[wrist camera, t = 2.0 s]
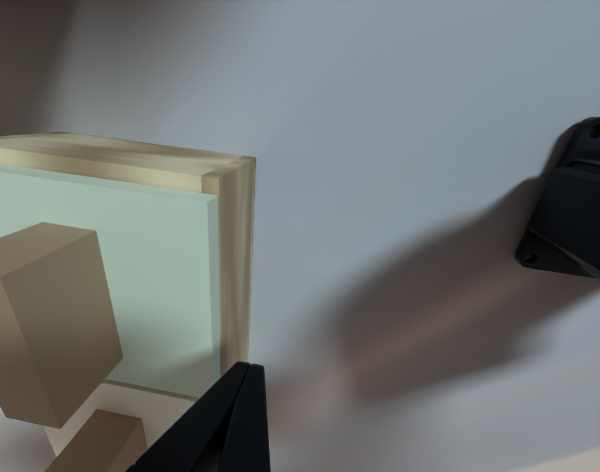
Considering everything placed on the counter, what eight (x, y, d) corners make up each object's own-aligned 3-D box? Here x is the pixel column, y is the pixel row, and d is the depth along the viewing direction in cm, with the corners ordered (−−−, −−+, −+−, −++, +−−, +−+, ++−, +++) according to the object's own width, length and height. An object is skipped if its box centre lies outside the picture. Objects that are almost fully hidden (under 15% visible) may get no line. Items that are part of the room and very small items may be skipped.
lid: (223, 381, 14) (178, 484, 10) (224, 482, 18) (191, 585, 14) (41, 345, 15) (-66, 429, 11) (80, 449, 18) (11, 538, 15)
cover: (217, 195, 9) (146, 244, 6) (220, 384, 13) (178, 481, 10) (-51, 156, 10) (-252, 179, 7) (25, 346, 14) (-78, 423, 11)
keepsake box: (255, 157, 13) (218, 178, 9) (245, 423, 22) (223, 495, 18) (61, 131, 14) (-54, 140, 10) (123, 397, 22) (74, 461, 18)
